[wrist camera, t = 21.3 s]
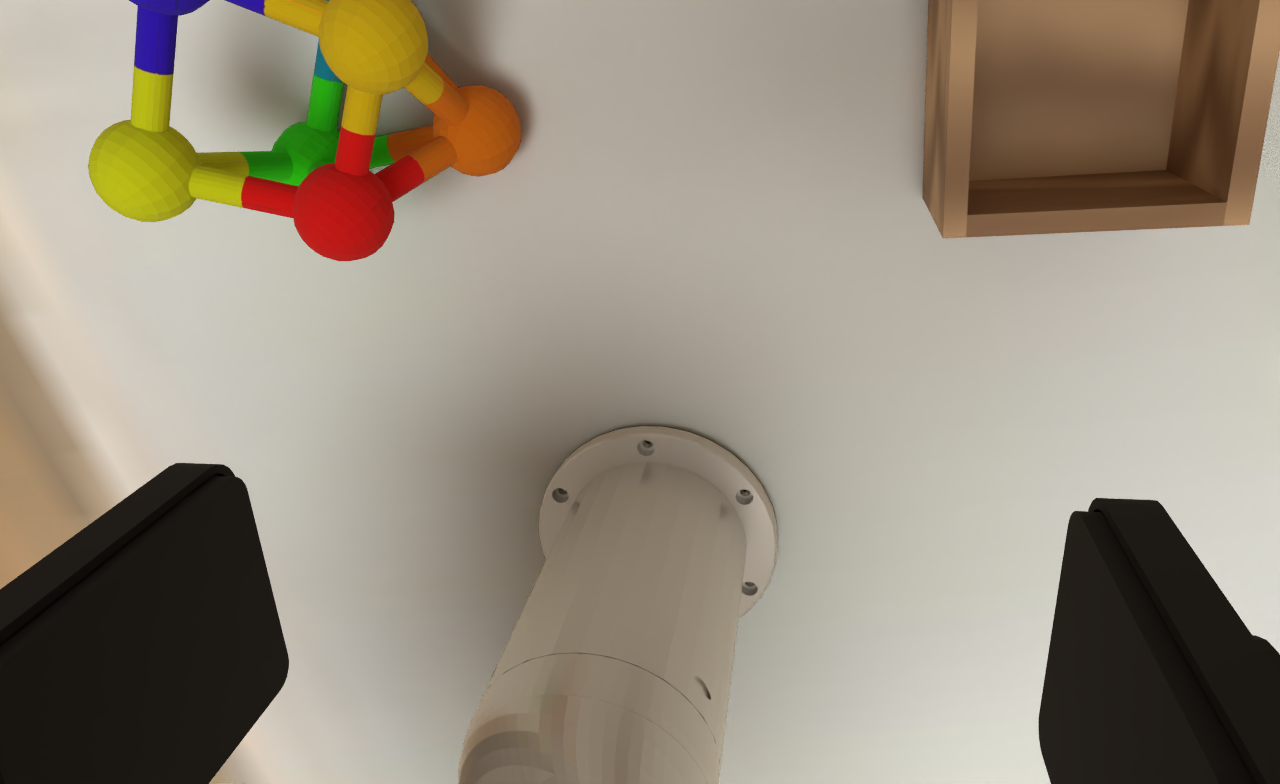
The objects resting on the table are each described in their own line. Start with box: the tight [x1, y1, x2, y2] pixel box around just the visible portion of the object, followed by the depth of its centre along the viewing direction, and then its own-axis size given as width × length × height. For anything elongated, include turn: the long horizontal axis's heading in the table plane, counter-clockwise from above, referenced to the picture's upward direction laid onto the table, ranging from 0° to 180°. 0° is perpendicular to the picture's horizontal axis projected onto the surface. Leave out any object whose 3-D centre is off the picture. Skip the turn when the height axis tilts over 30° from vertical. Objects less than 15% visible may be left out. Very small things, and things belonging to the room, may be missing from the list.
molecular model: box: [88, 0, 521, 261], centre depth 35 cm, size 15×12×15 cm
